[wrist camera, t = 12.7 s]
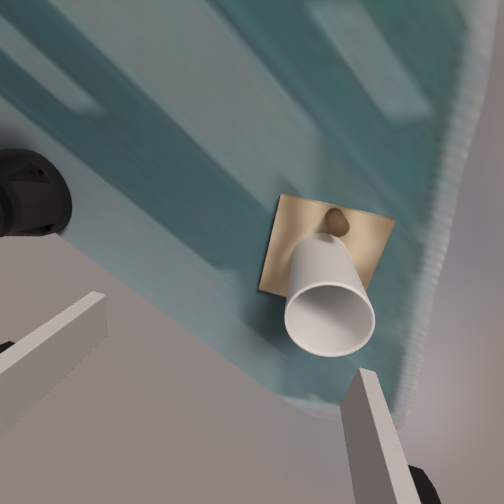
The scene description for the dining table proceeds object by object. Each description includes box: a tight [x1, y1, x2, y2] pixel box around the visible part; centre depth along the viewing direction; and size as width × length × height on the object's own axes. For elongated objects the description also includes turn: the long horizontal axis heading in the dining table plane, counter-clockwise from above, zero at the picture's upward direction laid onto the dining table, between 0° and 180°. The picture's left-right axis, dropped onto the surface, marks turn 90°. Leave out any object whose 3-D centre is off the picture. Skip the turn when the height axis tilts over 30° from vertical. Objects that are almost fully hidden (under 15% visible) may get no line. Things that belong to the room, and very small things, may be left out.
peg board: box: [259, 193, 396, 297], centre depth 37 cm, size 16×16×8 cm
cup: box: [284, 233, 375, 357], centre depth 31 cm, size 8×8×16 cm
